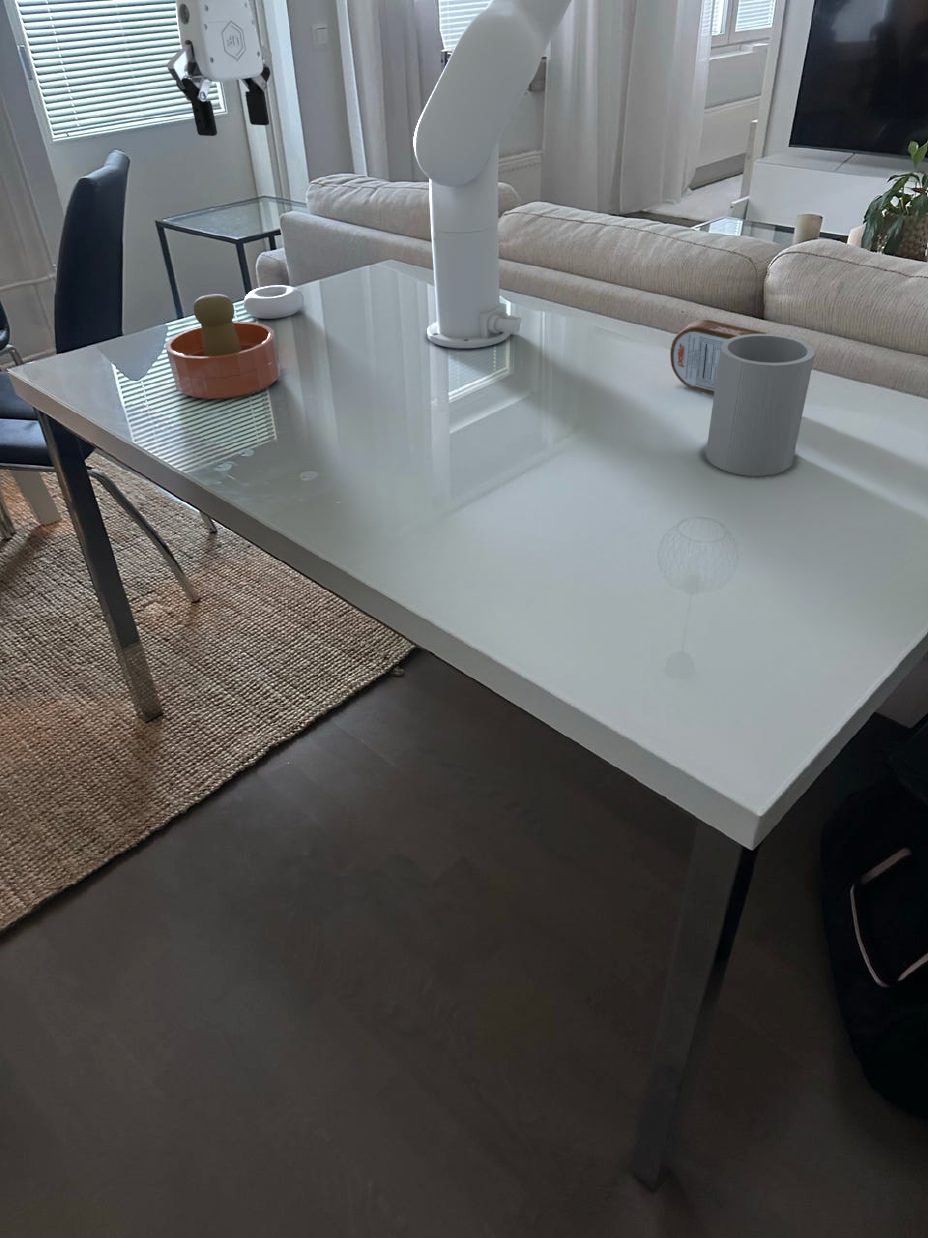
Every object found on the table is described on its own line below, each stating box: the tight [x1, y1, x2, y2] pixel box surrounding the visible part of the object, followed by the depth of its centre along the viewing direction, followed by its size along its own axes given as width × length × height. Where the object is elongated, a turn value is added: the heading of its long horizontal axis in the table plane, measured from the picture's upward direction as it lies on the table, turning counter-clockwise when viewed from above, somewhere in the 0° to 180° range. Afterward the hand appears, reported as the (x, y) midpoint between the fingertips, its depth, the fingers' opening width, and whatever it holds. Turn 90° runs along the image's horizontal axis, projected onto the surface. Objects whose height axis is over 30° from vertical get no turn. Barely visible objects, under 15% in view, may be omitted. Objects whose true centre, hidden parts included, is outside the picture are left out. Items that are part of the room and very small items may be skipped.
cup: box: [705, 333, 816, 477], centre depth 90 cm, size 9×9×12 cm
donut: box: [243, 284, 305, 320], centre depth 142 cm, size 10×4×10 cm
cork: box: [192, 293, 242, 357], centre depth 115 cm, size 6×6×11 cm
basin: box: [165, 321, 282, 400], centre depth 117 cm, size 14×14×6 cm
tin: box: [669, 319, 768, 395], centre depth 105 cm, size 15×3×8 cm, turn 47°
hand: (234, 129), depth 117 cm, fingers open, 9 cm apart
